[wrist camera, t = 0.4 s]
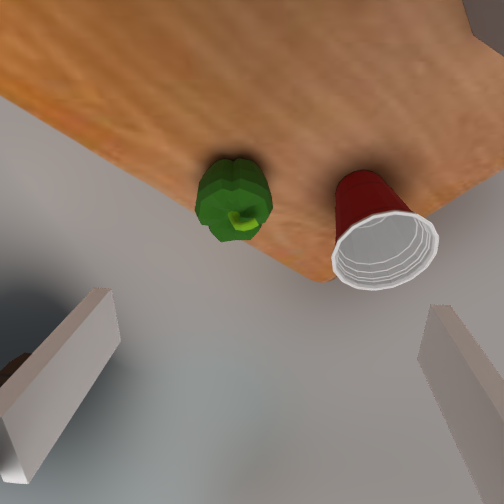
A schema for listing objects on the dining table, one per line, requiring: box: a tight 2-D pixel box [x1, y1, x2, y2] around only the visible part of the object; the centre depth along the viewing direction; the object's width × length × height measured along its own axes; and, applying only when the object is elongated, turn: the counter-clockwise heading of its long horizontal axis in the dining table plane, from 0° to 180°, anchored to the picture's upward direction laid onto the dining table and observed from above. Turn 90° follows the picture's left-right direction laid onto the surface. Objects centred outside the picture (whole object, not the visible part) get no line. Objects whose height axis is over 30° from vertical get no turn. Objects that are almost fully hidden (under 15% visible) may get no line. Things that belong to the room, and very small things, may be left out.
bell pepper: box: [195, 158, 273, 242], centre depth 41 cm, size 8×8×10 cm
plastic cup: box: [331, 170, 439, 290], centre depth 42 cm, size 11×11×12 cm
